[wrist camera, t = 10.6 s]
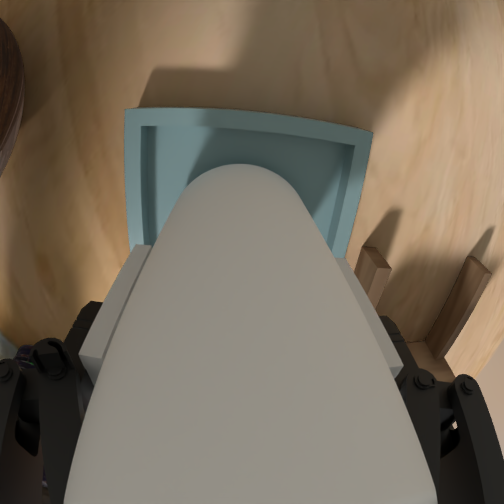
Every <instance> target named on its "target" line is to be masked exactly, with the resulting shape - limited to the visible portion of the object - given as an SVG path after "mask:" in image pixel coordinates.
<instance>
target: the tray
mask: <svg viewBox="0 0 504 504" xmlns="http://www.w3.org/2000/svg"><path fill="white" fill-rule="evenodd" d="M372 138H373V132H370V131H367V130H364V129H360V128H357V127H352V126H347V125H343V124H338V123H332V122H327V121H322V120H316V119H310V118H304V117H298V116H291V115H283V114H276V113H267V112H258V111H248V110H236V109H222V108H203V107H137V108H130V109H125V123H124V167H125V194H126V211H127V224H128V235H129V245H130V253H131V251H132V250H133V248H134V246H135V245H136V244H140V245H151V246H152V248H153V246H154V244H155V242H156V240H157V238H158V236H159V234H160V232H161V230H162V228H163V226H164V224H165V222H166V221H167V219H168V217H169V215H170V213H171V211H172V209H173V207H174V205H175V204H176V202H177V200H178V198H179V196H180V195H181V193H182V192H183V191H184V189H185V188H186V187H187V186H188V185H189V184H190V183H191V182H192V181H193V180H194V179H196V178H197V177H198V176H200V175H201V174H203V173H205V172H207V171H209V170H211V169H214V168H216V167H220V166H224V165H229V164H250V165H255V166H259V167H263V168H266V169H268V170H270V171H272V172H274V173H276V174H278V175H279V176H281V177H282V178H283V179H285V180H286V181H287V182H288V183H289V184H290V185H291V186H292V187H293V188H294V189H295V191H296V192H297V193H298V195H299V197H300V198H301V200H302V202H303V203H304V205H305V207H306V209H307V210H308V212H309V214H310V215H311V217H312V219H313V221H314V222H315V224H316V226H317V228H318V229H319V231H320V233H321V235H322V236H323V238H324V240H325V242H326V243H327V245H328V247H329V249H330V251H331V252H332V254H333V256H334V258H344V257H345V253H346V250H347V246H348V242H349V239H350V235H351V231H352V227H353V224H354V220H355V216H356V212H357V208H358V204H359V199H360V195H361V191H362V186H363V182H364V177H365V173H366V168H367V163H368V158H369V153H370V148H371V143H372Z"/></svg>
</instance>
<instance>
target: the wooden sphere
mask: <svg viewBox="0 0 504 504" xmlns="http://www.w3.org/2000/svg"><path fill="white" fill-rule="evenodd" d="M24 93H25V80H24V68H23V62H22V57H21V53H20V50H19V47H18V44H17V42H16V40H15V37H14V36H13V34H12V32H11V30H10V29H9V27H8V26H7V25H6V23H5V22H4V21H3V20H2V19H1V18H0V176H1V175H2V173H3V171H4V169H5V167H6V164H7V162H8V160H9V158H10V155H11V153H12V150H13V147H14V144H15V141H16V138H17V135H18V131H19V127H20V123H21V118H22V112H23V105H24Z"/></svg>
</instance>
